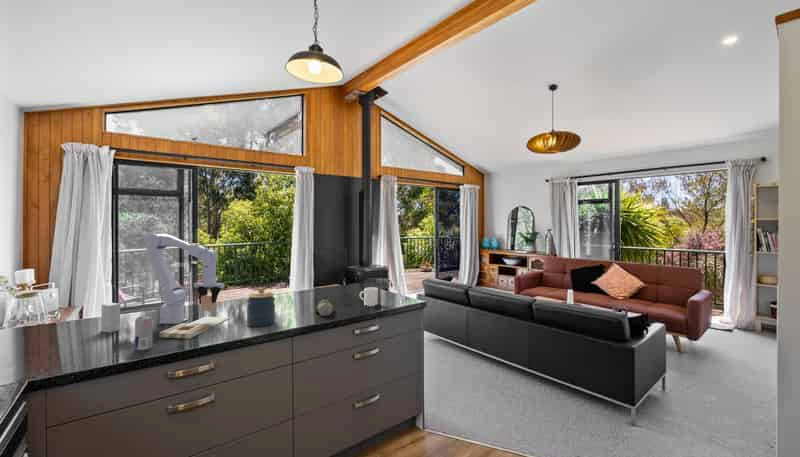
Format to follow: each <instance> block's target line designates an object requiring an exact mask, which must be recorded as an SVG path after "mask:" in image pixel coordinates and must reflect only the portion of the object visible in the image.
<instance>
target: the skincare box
mask: <svg viewBox="0 0 800 457" xmlns="http://www.w3.org/2000/svg"><path fill="white" fill-rule="evenodd" d="M100 308H101V309H100V310H101V316H100V317H101V332H104V333H115V332H118V331H121V303H118V302H117V303H116V302H107V303H103V304H101V307H100Z"/></svg>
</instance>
